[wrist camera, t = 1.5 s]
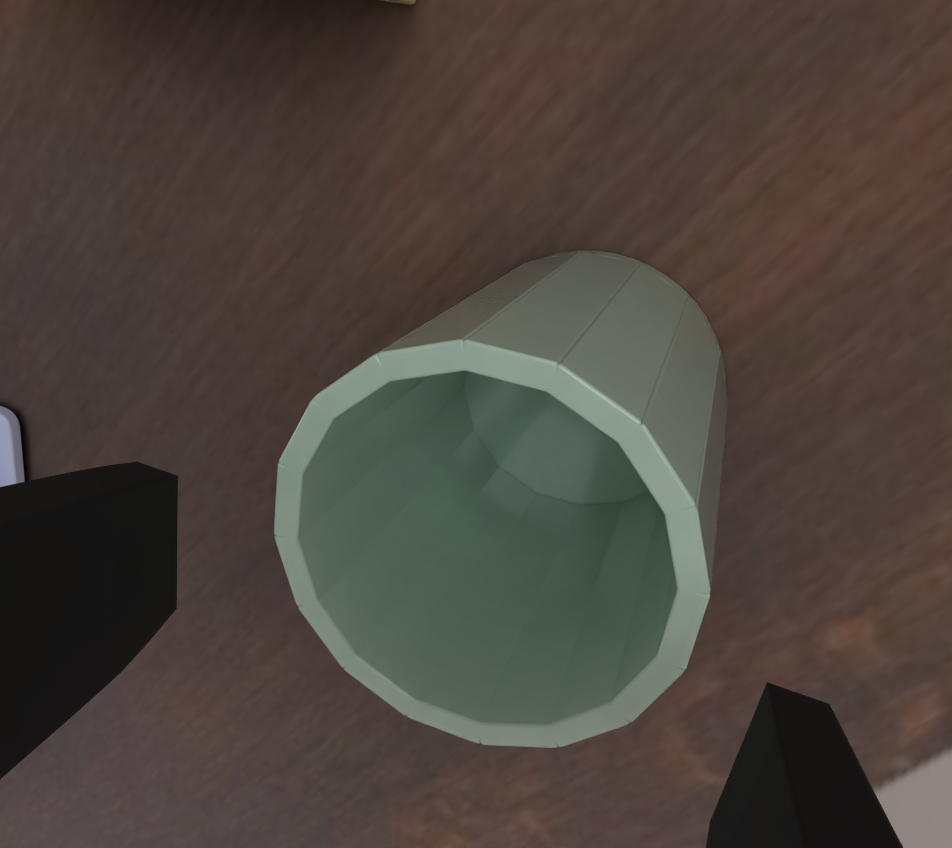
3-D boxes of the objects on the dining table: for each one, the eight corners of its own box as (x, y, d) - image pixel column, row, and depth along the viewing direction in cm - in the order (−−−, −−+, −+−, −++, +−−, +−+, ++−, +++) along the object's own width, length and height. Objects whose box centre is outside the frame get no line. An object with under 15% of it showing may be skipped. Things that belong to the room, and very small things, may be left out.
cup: (443, 468, 19) (264, 665, 12) (480, 224, 17) (285, 295, 10) (685, 539, 18) (641, 806, 11) (762, 284, 16) (769, 415, 9)
